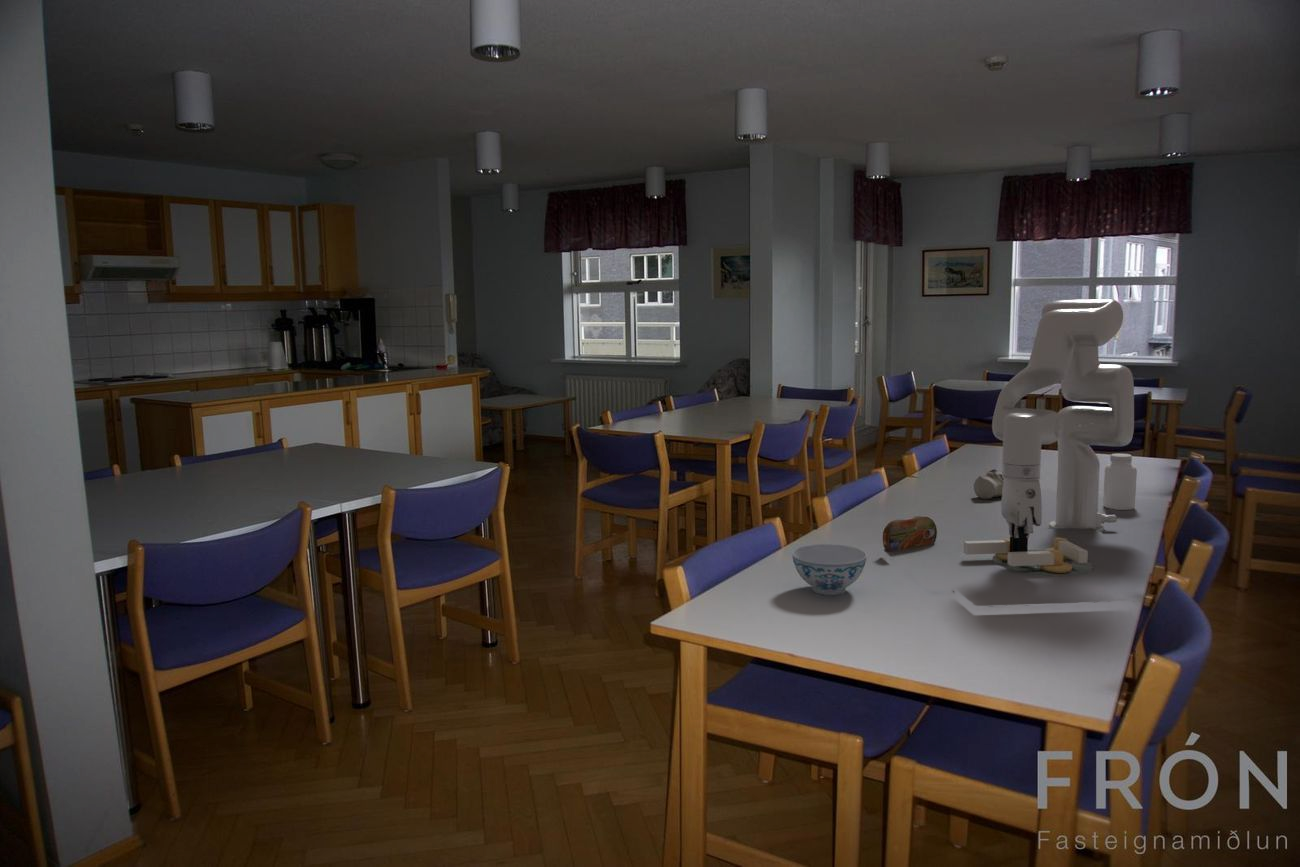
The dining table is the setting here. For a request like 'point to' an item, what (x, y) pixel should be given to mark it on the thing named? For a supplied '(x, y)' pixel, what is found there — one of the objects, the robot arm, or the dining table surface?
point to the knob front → (1041, 560)
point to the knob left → (988, 548)
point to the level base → (1036, 569)
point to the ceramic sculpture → (989, 485)
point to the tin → (909, 533)
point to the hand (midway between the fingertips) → (1018, 554)
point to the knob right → (1070, 550)
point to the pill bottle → (1120, 483)
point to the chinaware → (829, 566)
